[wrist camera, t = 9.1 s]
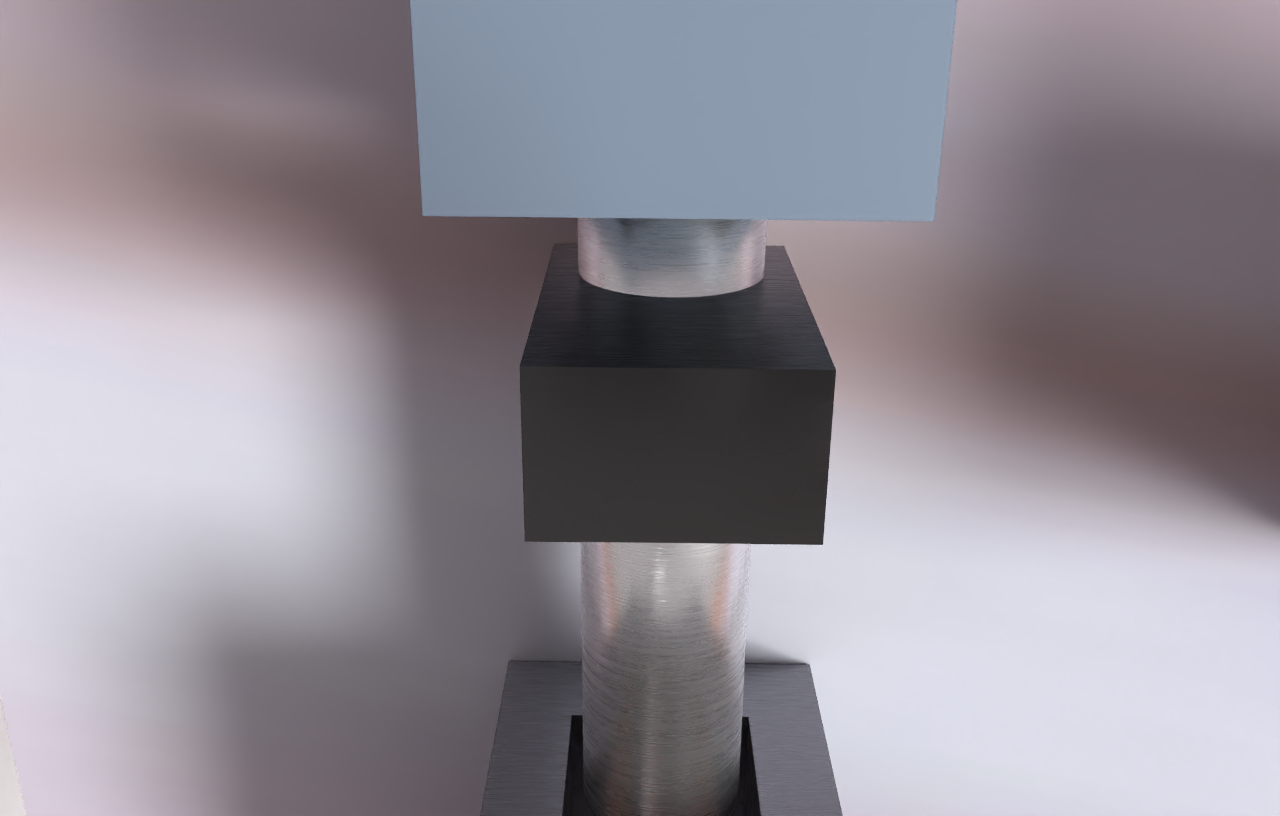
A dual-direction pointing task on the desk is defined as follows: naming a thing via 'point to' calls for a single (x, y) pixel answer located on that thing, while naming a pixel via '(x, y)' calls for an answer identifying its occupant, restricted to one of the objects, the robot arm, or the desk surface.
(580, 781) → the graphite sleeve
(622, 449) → the metal rod with block
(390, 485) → the desk surface
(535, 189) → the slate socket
